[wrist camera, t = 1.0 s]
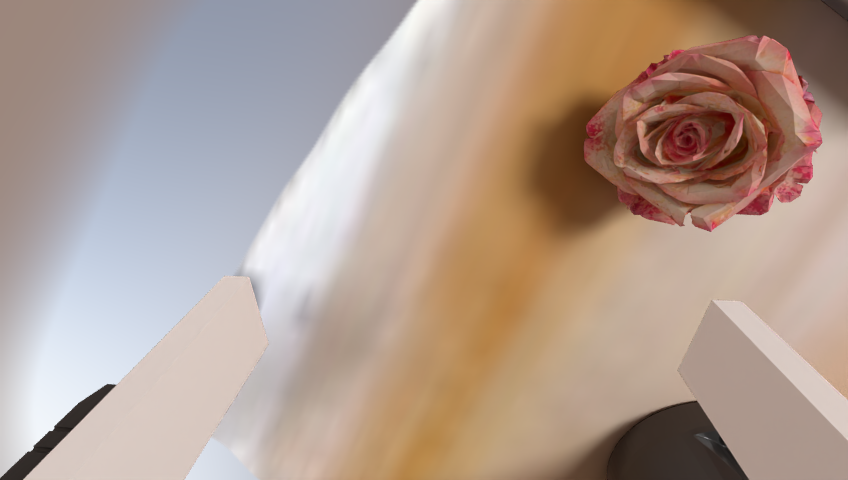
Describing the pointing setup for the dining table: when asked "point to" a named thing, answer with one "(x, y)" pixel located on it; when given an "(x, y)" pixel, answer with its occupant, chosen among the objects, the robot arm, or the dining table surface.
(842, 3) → the bin
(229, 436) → the dining table surface
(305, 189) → the dining table surface
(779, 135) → the flower
